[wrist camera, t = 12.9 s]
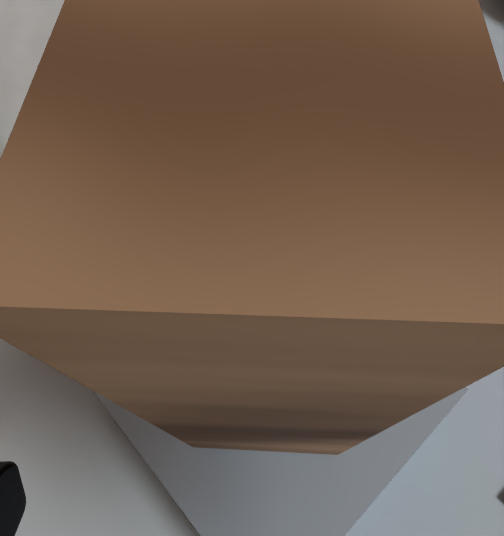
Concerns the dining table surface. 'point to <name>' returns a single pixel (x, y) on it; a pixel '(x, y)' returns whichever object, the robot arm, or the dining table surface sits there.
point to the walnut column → (260, 214)
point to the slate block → (277, 477)
